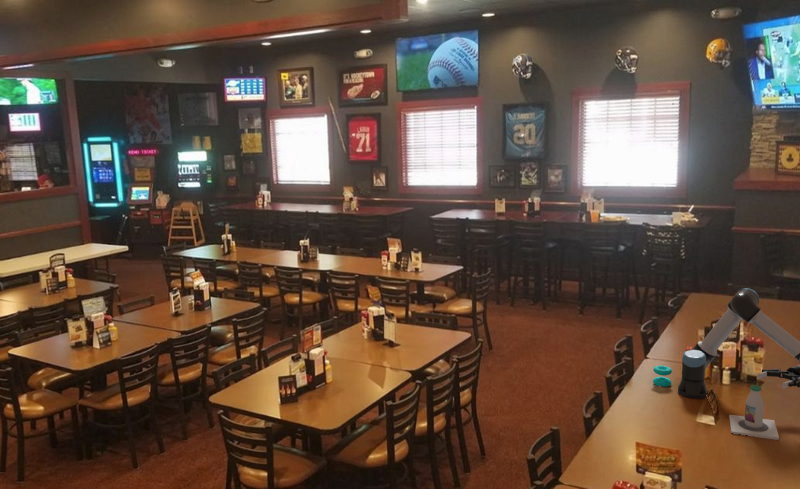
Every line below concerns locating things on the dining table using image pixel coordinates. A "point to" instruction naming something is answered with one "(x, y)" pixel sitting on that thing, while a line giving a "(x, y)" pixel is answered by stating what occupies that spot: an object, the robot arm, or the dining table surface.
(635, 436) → the dining table surface
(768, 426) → the board
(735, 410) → the dining table surface
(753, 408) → the milk bottle
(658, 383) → the donuts
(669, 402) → the dining table surface
